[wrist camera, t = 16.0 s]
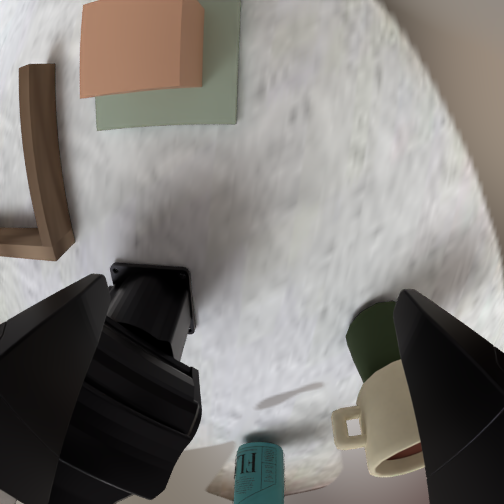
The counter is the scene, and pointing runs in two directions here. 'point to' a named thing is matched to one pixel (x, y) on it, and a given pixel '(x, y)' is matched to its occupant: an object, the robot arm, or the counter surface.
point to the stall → (40, 171)
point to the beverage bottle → (259, 474)
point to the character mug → (380, 398)
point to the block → (140, 46)
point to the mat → (187, 99)
